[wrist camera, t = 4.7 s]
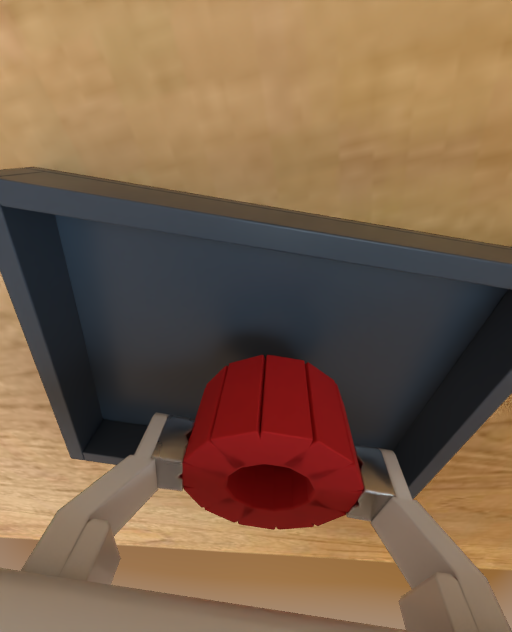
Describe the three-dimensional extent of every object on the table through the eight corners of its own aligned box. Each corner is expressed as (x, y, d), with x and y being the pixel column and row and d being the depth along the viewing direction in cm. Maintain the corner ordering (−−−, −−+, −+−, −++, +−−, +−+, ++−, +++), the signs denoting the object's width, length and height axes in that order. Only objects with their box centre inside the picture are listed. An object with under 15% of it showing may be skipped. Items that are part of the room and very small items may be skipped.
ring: (363, 369, 10) (393, 452, 7) (320, 457, 13) (331, 539, 10) (208, 344, 10) (180, 418, 7) (201, 438, 13) (181, 515, 10)
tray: (543, 252, 11) (617, 281, 8) (390, 461, 18) (406, 506, 16) (32, 166, 10) (-38, 172, 8) (96, 418, 18) (70, 458, 16)
